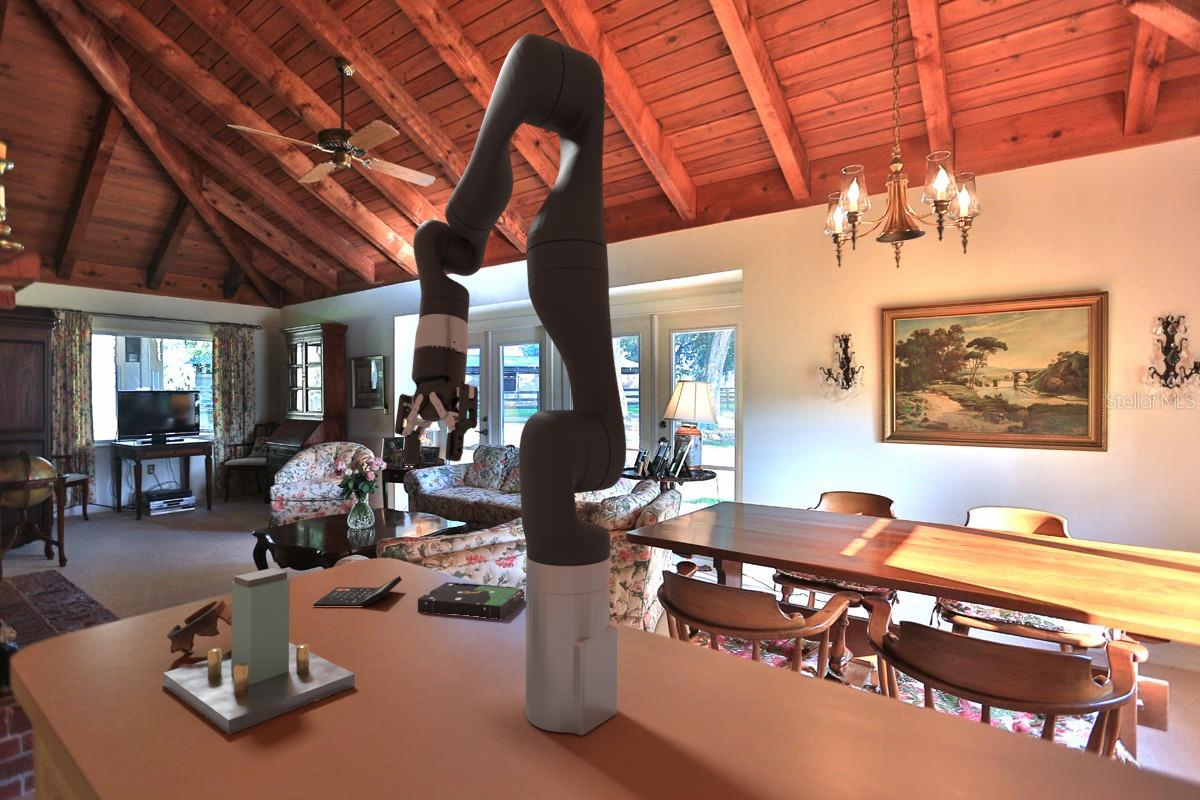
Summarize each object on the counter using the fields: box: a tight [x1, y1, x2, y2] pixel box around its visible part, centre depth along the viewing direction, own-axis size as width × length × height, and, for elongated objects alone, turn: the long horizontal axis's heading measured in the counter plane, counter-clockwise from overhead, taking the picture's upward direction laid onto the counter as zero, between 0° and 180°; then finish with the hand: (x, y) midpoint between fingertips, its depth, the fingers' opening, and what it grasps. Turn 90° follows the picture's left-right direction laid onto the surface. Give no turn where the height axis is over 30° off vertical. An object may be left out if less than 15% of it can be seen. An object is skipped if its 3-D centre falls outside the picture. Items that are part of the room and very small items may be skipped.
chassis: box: [162, 641, 356, 736], centre depth 76 cm, size 18×14×4 cm
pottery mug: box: [166, 598, 232, 655], centre depth 86 cm, size 12×10×8 cm
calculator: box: [312, 575, 403, 608], centre depth 109 cm, size 9×12×3 cm
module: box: [230, 567, 291, 685], centre depth 76 cm, size 4×5×12 cm
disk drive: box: [417, 581, 525, 620], centre depth 106 cm, size 10×3×15 cm
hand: (431, 462), depth 88 cm, fingers open, 8 cm apart
